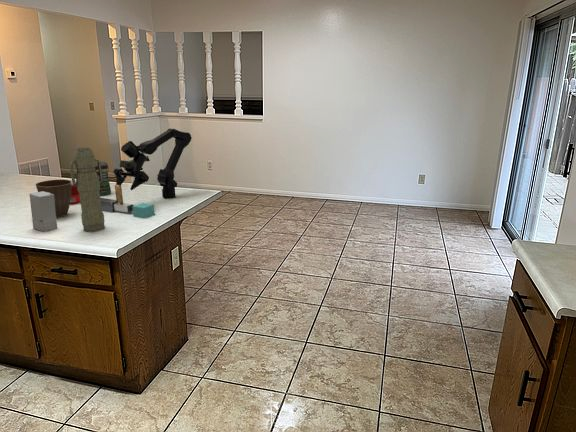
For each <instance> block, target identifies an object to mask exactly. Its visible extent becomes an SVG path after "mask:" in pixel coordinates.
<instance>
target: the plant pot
mask: <svg viewBox="0 0 576 432" xmlns="http://www.w3.org/2000/svg"><path fill="white" fill-rule="evenodd" d="M71 181H72V180H69V179H48V180H43V181H39V182H37V183H35V186H36V187H35V188H36V190H37V191H36V192H42V191H44V192H48V193H51V194H54V200H55V211H56V218H61V217H65V216H67V215H68V212H69V208H70V206H71V205H70V199H71Z"/></svg>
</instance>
